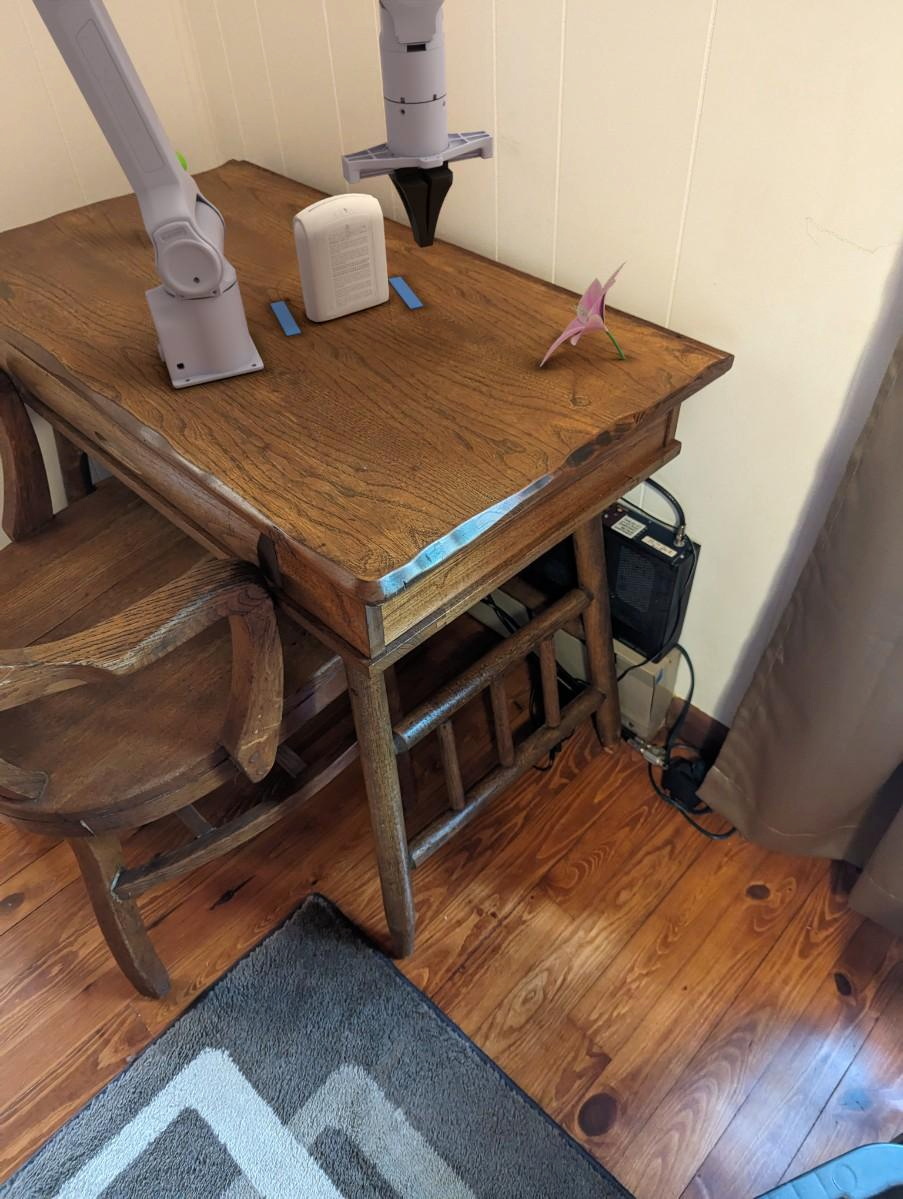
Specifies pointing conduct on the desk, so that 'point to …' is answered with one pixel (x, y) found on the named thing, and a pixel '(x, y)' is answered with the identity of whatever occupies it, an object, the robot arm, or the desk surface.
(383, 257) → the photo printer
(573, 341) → the lily
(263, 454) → the desk surface
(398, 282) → the tape marks
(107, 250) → the desk surface
